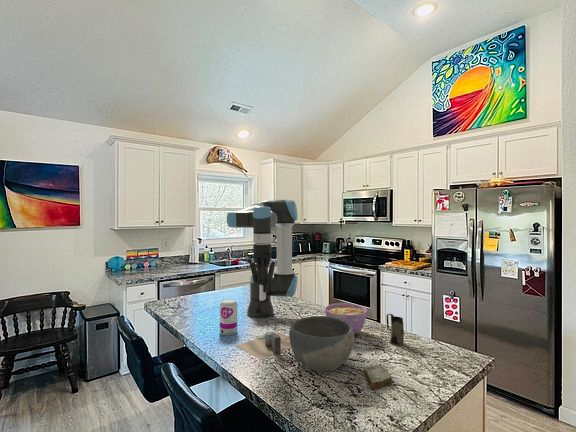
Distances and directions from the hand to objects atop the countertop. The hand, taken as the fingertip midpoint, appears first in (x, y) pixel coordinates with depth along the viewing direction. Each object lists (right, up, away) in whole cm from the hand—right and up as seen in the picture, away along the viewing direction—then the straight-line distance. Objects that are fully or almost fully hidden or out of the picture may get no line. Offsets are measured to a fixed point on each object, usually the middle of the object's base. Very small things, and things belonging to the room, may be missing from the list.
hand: (262, 299), depth 138 cm
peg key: (+3, -20, +2) cm, 20 cm away
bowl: (+23, -21, -15) cm, 35 cm away
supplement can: (-18, -21, +19) cm, 34 cm away
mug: (+58, -21, +7) cm, 62 cm away
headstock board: (+3, -21, +2) cm, 21 cm away
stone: (+41, -21, -25) cm, 53 cm away
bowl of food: (+38, -21, +19) cm, 47 cm away
